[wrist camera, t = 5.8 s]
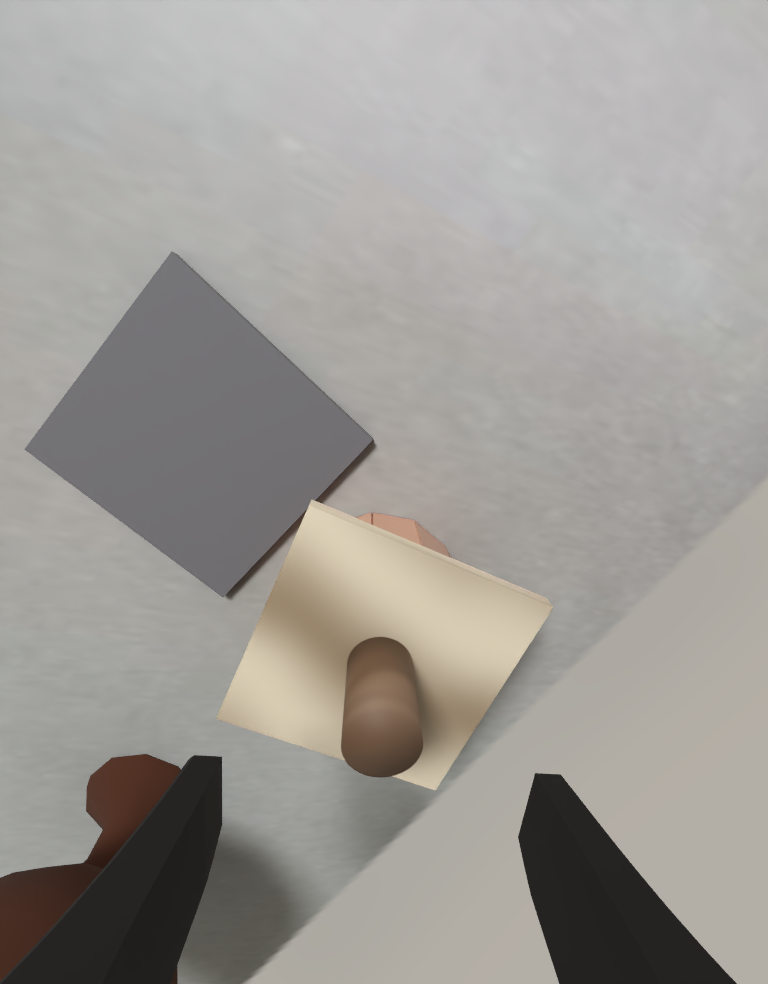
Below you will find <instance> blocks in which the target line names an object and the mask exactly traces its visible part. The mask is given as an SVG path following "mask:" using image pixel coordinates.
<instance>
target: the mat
mask: <svg viewBox="0 0 768 984" xmlns="http://www.w3.org/2000/svg"><path fill="white" fill-rule="evenodd" d="M372 440H373V438H372V437H371V436H370V435H369V434H368V433H367V432H366V431H365V430H363V429H362V428H361V427H360V426H359V425H358V424H357V423H356V422H355V421H354V420H353V419H352V418H351V417H350V416H349V415H348V414H346V413H345V412H344V411H343V410H342V409H341V408H340V407H339V406H338V405H337V404H336V403H335V402H334V401H333V400H332V399H330V398H329V397H328V396H327V395H326V394H325V393H324V392H323V391H322V390H321V389H320V388H319V387H318V386H317V385H316V384H314V383H313V382H312V381H311V380H310V379H309V378H308V377H307V376H306V375H305V374H304V373H303V372H302V371H301V370H300V369H299V368H297V367H296V366H295V365H294V364H293V363H292V362H291V361H290V360H289V359H288V358H287V357H286V356H285V355H284V354H283V353H281V352H280V351H279V350H278V349H277V348H276V347H275V346H274V345H273V344H272V343H271V342H270V341H269V340H268V339H267V338H265V337H264V336H263V335H262V334H261V333H260V332H259V331H258V330H257V329H256V328H255V327H254V326H253V325H252V324H251V323H250V322H248V321H247V320H246V319H245V318H244V317H243V316H242V315H241V314H240V313H239V312H238V311H237V310H236V309H235V308H234V307H232V306H231V305H230V304H229V303H228V302H227V301H226V300H225V299H224V298H223V297H222V296H221V295H220V294H219V293H218V292H216V291H215V290H214V289H213V288H212V287H211V286H210V285H209V284H208V283H207V282H206V281H205V280H204V279H203V278H202V277H200V276H199V275H198V274H197V273H196V272H195V271H194V270H193V269H192V268H191V267H190V266H189V265H188V264H187V263H186V262H185V261H183V260H182V259H181V258H180V257H179V256H178V255H177V254H175V253H174V252H171V253H170V254H169V256H168V257H167V259H166V260H165V261H164V263H163V264H162V265H161V267H160V268H159V269H158V271H157V272H156V273H155V275H154V276H153V277H152V279H151V280H150V281H149V283H148V284H147V285H146V287H145V288H144V289H143V291H142V292H141V293H140V295H139V296H138V298H137V299H136V300H135V302H134V303H133V304H132V306H131V307H130V308H129V310H128V311H127V312H126V314H125V315H124V316H123V318H122V319H121V320H120V322H119V323H118V324H117V326H116V327H115V328H114V330H113V331H112V332H111V334H110V335H109V337H108V338H107V339H106V341H105V342H104V343H103V345H102V346H101V347H100V349H99V350H98V351H97V353H96V354H95V355H94V357H93V358H92V359H91V361H90V362H89V363H88V365H87V366H86V367H85V369H84V370H83V371H82V373H81V374H80V376H79V377H78V378H77V380H76V381H75V382H74V384H73V385H72V386H71V388H70V389H69V390H68V392H67V393H66V394H65V396H64V397H63V398H62V400H61V401H60V402H59V404H58V405H57V406H56V408H55V409H54V410H53V412H52V413H51V414H50V416H49V417H48V419H47V420H46V421H45V423H44V424H43V425H42V427H41V428H40V429H39V431H38V432H37V433H36V435H35V436H34V437H33V439H32V440H31V441H30V443H29V444H28V445H27V447H26V448H25V450H26V451H27V452H29V453H30V454H31V455H33V456H34V457H35V458H37V459H38V460H39V461H41V462H42V463H43V464H45V465H46V466H47V467H49V468H50V469H52V470H53V471H54V472H56V473H57V474H58V475H60V476H61V477H62V478H64V479H65V480H66V481H68V482H69V483H70V484H72V485H73V486H74V487H76V488H77V489H78V490H80V491H81V492H82V493H84V494H85V495H86V496H88V497H89V498H90V499H92V500H93V501H94V502H96V503H97V504H98V505H100V506H101V507H102V508H104V509H105V510H106V511H108V512H109V513H110V514H112V515H113V516H115V517H116V518H117V519H119V520H120V521H121V522H123V523H124V524H125V525H127V526H128V527H129V528H131V529H132V530H133V531H135V532H136V533H137V534H139V535H140V536H141V537H143V538H144V539H145V540H147V541H148V542H149V543H151V544H152V545H153V546H155V547H156V548H157V549H159V550H160V551H161V552H163V553H164V554H165V555H167V556H168V557H169V558H171V559H172V560H174V561H175V562H176V563H178V564H179V565H180V566H182V567H183V568H184V569H186V570H187V571H188V572H190V573H191V574H192V575H194V576H195V577H196V578H198V579H199V580H200V581H202V582H203V583H204V584H206V585H207V586H208V587H210V588H211V589H212V590H214V591H215V592H216V593H218V594H219V595H220V596H222V597H224V596H225V595H226V594H227V593H228V592H229V591H230V589H231V588H232V587H233V586H234V585H235V584H236V583H237V582H238V581H239V580H240V579H241V578H242V577H243V576H244V575H245V574H246V573H247V572H248V571H249V570H250V568H251V567H252V566H253V565H254V564H255V563H256V562H257V561H258V560H259V559H260V558H261V557H262V556H263V555H264V554H265V553H266V552H267V551H268V550H269V548H270V547H271V546H272V545H273V544H274V543H275V542H276V541H277V540H278V539H279V538H280V537H281V536H282V535H283V534H284V533H285V532H286V531H287V530H288V529H289V527H290V526H291V525H292V524H293V523H294V522H295V521H296V520H297V519H298V518H299V517H300V516H301V515H302V514H303V513H304V512H305V511H306V510H307V509H308V506H309V504H310V502H311V500H314V501H315V500H316V499H317V498H318V497H319V496H320V495H321V494H322V493H323V492H324V491H325V490H326V489H327V488H328V487H329V485H330V484H331V483H332V482H333V481H334V480H335V479H336V478H337V477H338V476H339V475H340V474H341V473H342V472H343V471H344V470H345V469H346V468H347V467H348V466H349V464H350V463H351V462H352V461H353V460H354V459H355V458H356V457H357V456H358V455H359V454H360V453H361V452H362V451H363V450H364V449H365V448H366V447H367V446H368V445H369V443H370V442H371V441H372Z"/></svg>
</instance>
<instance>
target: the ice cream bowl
mask: <svg viewBox="0 0 768 984" xmlns="http://www.w3.org/2000/svg"><path fill="white" fill-rule="evenodd" d="M180 771H181V770H180V769H179V768H178V767H177V766H175V765H172V764H170V763H167V762H164V761H162V760H159V759H157V758H154V757H151V756H149V755H146V754H144V755H134V756H125V757H116V758H111V759H110V760H109V761H108V762H106V763H105V764H104V765H103V766H102V767H101V768H99V769H98V770H97V771H96V772H95V773H94V774H92V775H91V776H90V779H89V782H88V786H87V803H86V811H87V812H88V814H89V815H90V816H91V817H92V818H93V819H94V820H95V821H96V822H97V824H98V825H99V826H100V827H101V828H102V829H103V831H102V833H101V835H100V837H99V838H98V840H97V842H96V844H95V846H94V848H93V850H92V851H91V853H90V855H89V857H88V859H87V860H86V861H85V862H84V863H81V864H71V865H62V866H53V867H45V868H39V869H33V870H27V871H21V872H15V873H11V874H9V875H6V876H4V877H1V878H0V981H1V980H2V979H3V978H4V977H5V976H6V975H7V974H8V973H9V972H10V971H11V970H12V969H13V968H14V967H15V966H16V964H17V963H18V962H19V961H20V960H21V959H22V958H23V957H24V956H25V955H26V954H27V953H28V952H29V951H30V950H31V949H32V948H33V947H34V946H35V945H36V943H37V942H38V941H39V940H40V939H41V938H42V937H43V936H44V935H45V934H46V933H47V932H48V930H49V929H50V928H51V927H52V926H53V925H54V924H55V923H56V922H57V921H58V920H59V918H60V917H61V916H62V915H63V914H64V913H65V912H66V911H67V909H68V908H69V907H70V906H71V905H72V904H73V903H74V901H75V900H76V899H77V898H78V897H79V896H80V895H81V894H82V892H83V891H84V890H85V889H86V888H87V887H88V886H89V884H90V883H91V882H92V881H93V880H94V879H95V878H96V877H97V875H98V874H99V873H100V872H101V871H102V870H103V868H104V867H105V866H106V865H107V864H108V863H109V861H110V860H111V859H112V858H113V857H114V855H115V854H116V853H117V852H118V850H119V849H120V848H121V847H122V846H123V844H124V843H125V842H126V841H127V839H128V838H129V837H130V836H131V835H132V833H133V832H134V831H135V830H136V828H137V827H138V826H139V825H140V824H141V822H142V821H143V820H144V819H145V817H146V816H147V815H148V813H149V812H150V811H151V810H152V808H153V807H154V806H155V804H156V803H157V802H158V801H159V799H160V798H161V797H162V795H163V794H164V793H165V791H166V790H167V789H168V787H169V786H170V785H171V783H172V782H173V781H174V779H175V778H176V777H177V775H178V774H179V772H180ZM170 984H177V967H176V969H175V972H174V975H173V978H172V980H171V983H170Z"/></svg>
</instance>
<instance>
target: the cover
mask: <svg viewBox="0 0 768 984" xmlns="http://www.w3.org/2000/svg"><path fill="white" fill-rule="evenodd" d="M552 609H553V606H552V605H551V604H550V602H549V601H548V600H547V598H545V597H543V596H540V595H538V594H536V593H533V592H531V591H528V590H526V589H524V588H521V587H519V586H517V585H514V584H512V583H509V582H507V581H505V580H502V579H500V578H498V577H495V576H493V575H490V574H488V573H486V572H483V571H481V570H478V569H476V568H474V567H471V566H469V565H467V564H464V563H462V562H459V561H457V560H455V559H452V558H450V557H448V556H445V555H443V554H440V553H438V552H436V551H433V550H431V549H429V548H426V547H424V546H421V545H419V544H417V543H414V542H412V541H410V540H407V539H405V538H402V537H400V536H398V535H395V534H393V533H391V532H388V531H386V530H383V529H381V528H379V527H376V526H374V525H372V524H369V523H367V522H364V521H362V520H360V519H357V518H355V517H352V516H350V515H348V514H345V513H343V512H341V511H338V510H336V509H333V508H331V507H329V506H326V505H324V504H322V503H319V502H317V501H314V500H311V502H310V504H309V506H308V509H307V511H306V513H305V516H304V518H303V520H302V522H301V525H300V527H299V529H298V532H297V534H296V536H295V539H294V541H293V543H292V545H291V548H290V550H289V552H288V555H287V557H286V559H285V561H284V564H283V566H282V568H281V571H280V573H279V575H278V578H277V580H276V582H275V584H274V587H273V589H272V591H271V594H270V596H269V598H268V600H267V603H266V605H265V607H264V610H263V612H262V614H261V617H260V619H259V621H258V623H257V626H256V628H255V630H254V633H253V635H252V637H251V640H250V642H249V644H248V646H247V649H246V651H245V653H244V656H243V658H242V660H241V662H240V665H239V667H238V669H237V672H236V674H235V676H234V679H233V681H232V683H231V685H230V688H229V690H228V692H227V695H226V697H225V699H224V701H223V704H222V706H221V708H220V711H219V713H218V715H217V718H216V719H219V720H222V721H225V722H228V723H231V724H234V725H237V726H240V727H243V728H246V729H249V730H252V731H255V732H258V733H261V734H264V735H267V736H270V737H274V738H277V739H280V740H283V741H286V742H289V743H292V744H295V745H298V746H301V747H304V748H307V749H310V750H313V751H316V752H319V753H322V754H325V755H329V756H332V757H335V758H338V759H341V760H344V761H346V762H347V763H348V764H349V766H351V767H352V768H353V769H354V770H356V771H358V772H359V773H362V774H364V775H367V776H372V777H390V776H393V777H396V778H399V779H402V780H405V781H408V782H411V783H414V784H417V785H420V786H423V787H426V788H429V789H432V790H436V789H437V787H438V786H439V784H440V782H441V781H442V779H443V778H444V776H445V775H446V773H447V772H448V770H449V768H450V767H451V765H452V764H453V762H454V761H455V759H456V758H457V756H458V755H459V753H460V751H461V750H462V748H463V747H464V745H465V744H466V742H467V741H468V739H469V737H470V736H471V734H472V733H473V731H474V730H475V728H476V727H477V725H478V724H479V722H480V720H481V719H482V717H483V716H484V714H485V713H486V711H487V710H488V708H489V706H490V705H491V703H492V702H493V700H494V699H495V697H496V696H497V694H498V693H499V691H500V689H501V688H502V686H503V685H504V683H505V682H506V680H507V679H508V677H509V675H510V674H511V672H512V671H513V669H514V668H515V666H516V665H517V663H518V662H519V660H520V658H521V657H522V655H523V654H524V652H525V651H526V649H527V648H528V646H529V644H530V643H531V641H532V640H533V638H534V637H535V635H536V634H537V632H538V631H539V629H540V627H541V626H542V624H543V623H544V621H545V620H546V618H547V617H548V615H549V613H550V612H551V610H552Z"/></svg>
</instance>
